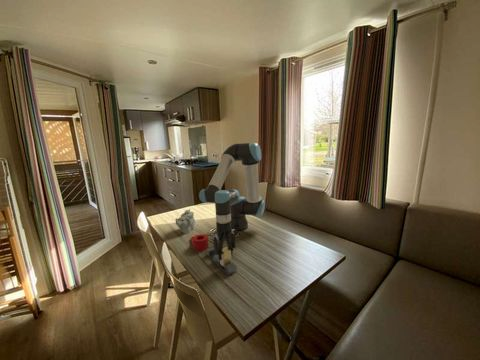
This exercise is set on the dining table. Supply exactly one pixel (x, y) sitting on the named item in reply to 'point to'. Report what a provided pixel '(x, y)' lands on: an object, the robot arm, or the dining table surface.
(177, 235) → the dining table surface
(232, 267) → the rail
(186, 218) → the grey lumpy piece
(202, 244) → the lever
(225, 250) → the nut block
